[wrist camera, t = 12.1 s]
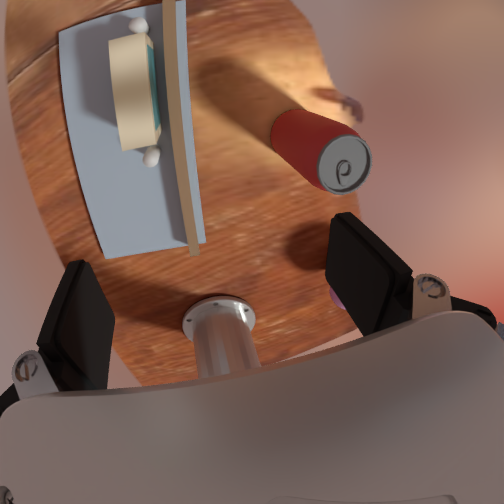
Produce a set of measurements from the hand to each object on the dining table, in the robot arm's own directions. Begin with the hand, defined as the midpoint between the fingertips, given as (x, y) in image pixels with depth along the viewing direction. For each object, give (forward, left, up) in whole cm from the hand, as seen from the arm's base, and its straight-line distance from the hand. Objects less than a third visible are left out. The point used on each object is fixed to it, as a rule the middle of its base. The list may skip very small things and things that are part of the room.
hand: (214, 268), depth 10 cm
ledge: (+1, +7, -23) cm, 24 cm away
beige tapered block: (+6, +5, -22) cm, 24 cm away
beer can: (-1, -12, -24) cm, 26 cm away
